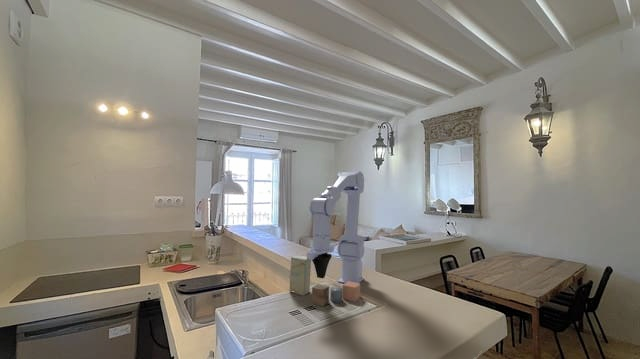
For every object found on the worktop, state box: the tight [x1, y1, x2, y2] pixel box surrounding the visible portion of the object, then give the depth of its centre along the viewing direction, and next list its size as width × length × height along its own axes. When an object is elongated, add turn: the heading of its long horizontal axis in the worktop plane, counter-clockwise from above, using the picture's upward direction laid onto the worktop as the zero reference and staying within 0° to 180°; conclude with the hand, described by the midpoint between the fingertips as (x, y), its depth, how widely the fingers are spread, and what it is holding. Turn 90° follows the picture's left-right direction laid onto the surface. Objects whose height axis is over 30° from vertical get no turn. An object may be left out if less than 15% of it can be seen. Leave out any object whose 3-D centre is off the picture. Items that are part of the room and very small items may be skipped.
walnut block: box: [311, 283, 330, 307], centre depth 80 cm, size 4×4×5 cm
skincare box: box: [288, 254, 312, 296], centre depth 89 cm, size 6×4×12 cm
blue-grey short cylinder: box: [329, 286, 343, 304], centre depth 82 cm, size 4×4×4 cm
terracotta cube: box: [342, 281, 361, 302], centre depth 84 cm, size 4×4×4 cm
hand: (320, 277), depth 80 cm, fingers closed
